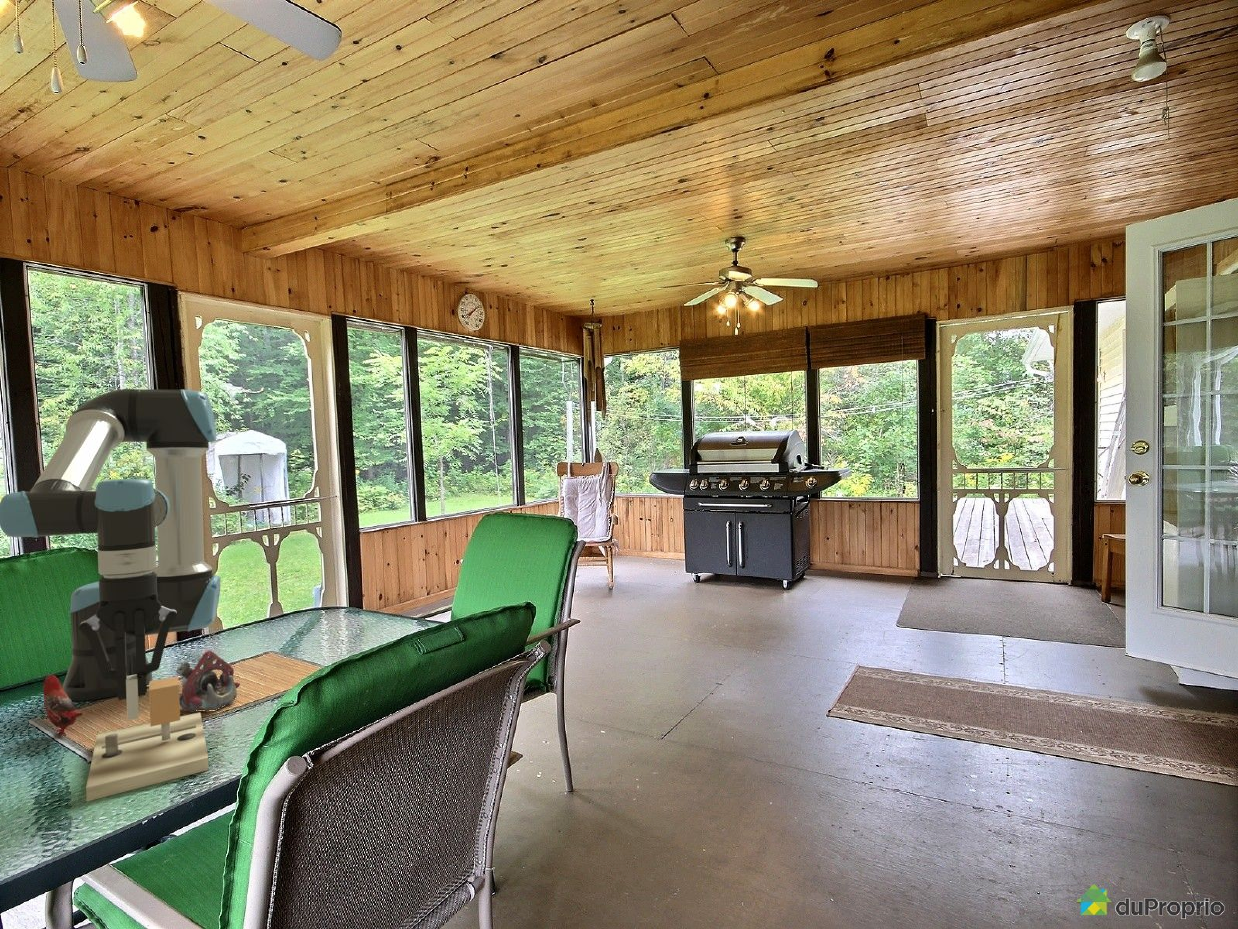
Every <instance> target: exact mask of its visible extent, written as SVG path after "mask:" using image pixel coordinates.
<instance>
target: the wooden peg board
mask: <svg viewBox="0 0 1238 929" xmlns="http://www.w3.org/2000/svg"><path fill="white" fill-rule="evenodd" d="M201 713H202V712H194V713H191V714H185V715H182V716H181V715H180V720H179V721H174V722H170V739H168V740H164V741H163V740H162V734H161V724H160V725H156V726H150V722H148V723H144V724H139V725H135V726H130V727H125V728H119V729H117V730H116V729H115V730H111V731H107V732H106V731H105V732H102V733H98V734H96V738H95V739H96V740H95V744H94V748H93V754H92V758H91V761H90V762H91V763H90V767H89V773H88V776H87V777H88V778H87V781H86V782H87V783H86V787H85V791H86V792H85V793H86V794H85V796H86V802H91V801H94V800H97V799H101V798H106V797H109V796H113V795H117V794H121V793H125V792H129V791H133V790H137V789H140V788H143V787H148V786H151V785H156V784H160V783H164V782H167V781H171V780H175V779H178V778H179V779H180V778H182V777H186V776H190V775H194V774H198V773H203V772H206V771H209V755H208V754H209V753H208V748H207V744H206V738H205V732H204V725H203V719H202V714H201Z"/></svg>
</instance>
